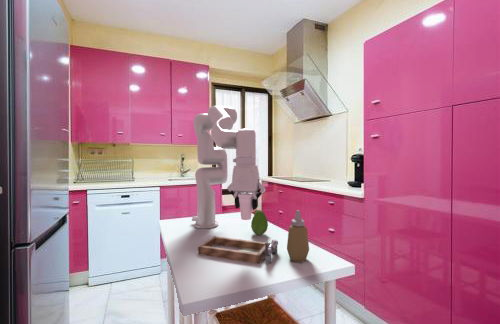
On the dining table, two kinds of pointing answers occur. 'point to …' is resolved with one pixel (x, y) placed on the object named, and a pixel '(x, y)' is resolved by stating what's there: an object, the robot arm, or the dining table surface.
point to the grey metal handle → (270, 250)
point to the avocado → (259, 223)
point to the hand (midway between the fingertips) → (246, 208)
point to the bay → (248, 253)
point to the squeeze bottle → (298, 239)
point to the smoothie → (245, 205)
